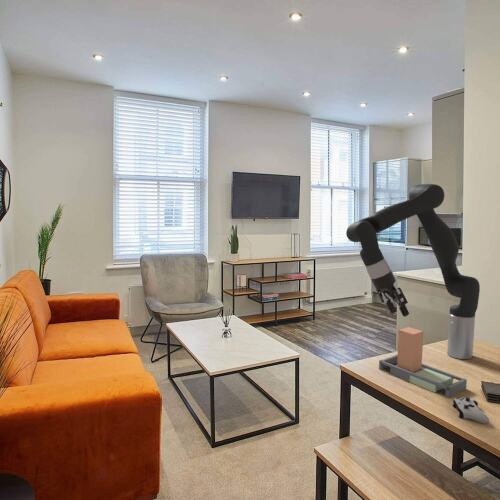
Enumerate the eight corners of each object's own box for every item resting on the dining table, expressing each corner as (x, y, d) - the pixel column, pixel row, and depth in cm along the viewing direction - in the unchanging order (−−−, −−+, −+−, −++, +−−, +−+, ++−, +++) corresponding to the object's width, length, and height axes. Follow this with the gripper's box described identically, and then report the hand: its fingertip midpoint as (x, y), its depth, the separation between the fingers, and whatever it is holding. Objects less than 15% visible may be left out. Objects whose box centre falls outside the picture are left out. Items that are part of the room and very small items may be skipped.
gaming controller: (492, 422, 112) (474, 404, 113) (474, 435, 114) (456, 417, 114) (478, 402, 123) (462, 386, 124) (462, 414, 125) (445, 398, 125)
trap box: (397, 362, 156) (397, 354, 156) (466, 388, 134) (466, 379, 134) (378, 369, 150) (379, 360, 150) (448, 397, 128) (448, 388, 128)
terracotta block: (406, 362, 150) (408, 326, 148) (421, 368, 145) (423, 331, 143) (397, 366, 147) (398, 329, 145) (411, 372, 142) (413, 334, 140)
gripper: (399, 268, 134) (420, 311, 135) (379, 268, 148) (398, 307, 149) (381, 278, 133) (401, 321, 134) (362, 277, 147) (381, 316, 148)
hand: (399, 314), depth 141 cm, fingers open, 8 cm apart
